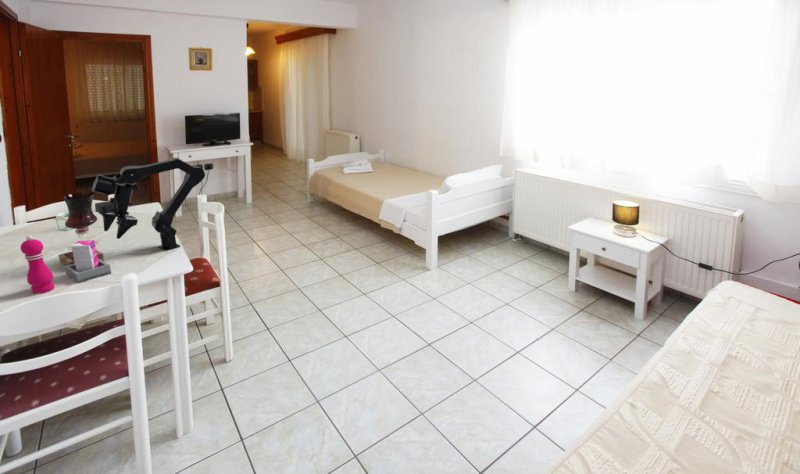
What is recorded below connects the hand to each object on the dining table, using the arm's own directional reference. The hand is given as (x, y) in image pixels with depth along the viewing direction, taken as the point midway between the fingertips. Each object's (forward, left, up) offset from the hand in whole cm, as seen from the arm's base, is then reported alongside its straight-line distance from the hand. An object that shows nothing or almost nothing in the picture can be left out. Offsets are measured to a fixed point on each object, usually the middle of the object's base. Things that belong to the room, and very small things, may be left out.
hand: (111, 234), depth 184 cm
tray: (-9, +14, -10) cm, 19 cm away
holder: (+5, +11, -10) cm, 15 cm away
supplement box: (-9, +13, -9) cm, 19 cm away
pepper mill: (-11, +29, -10) cm, 32 cm away
